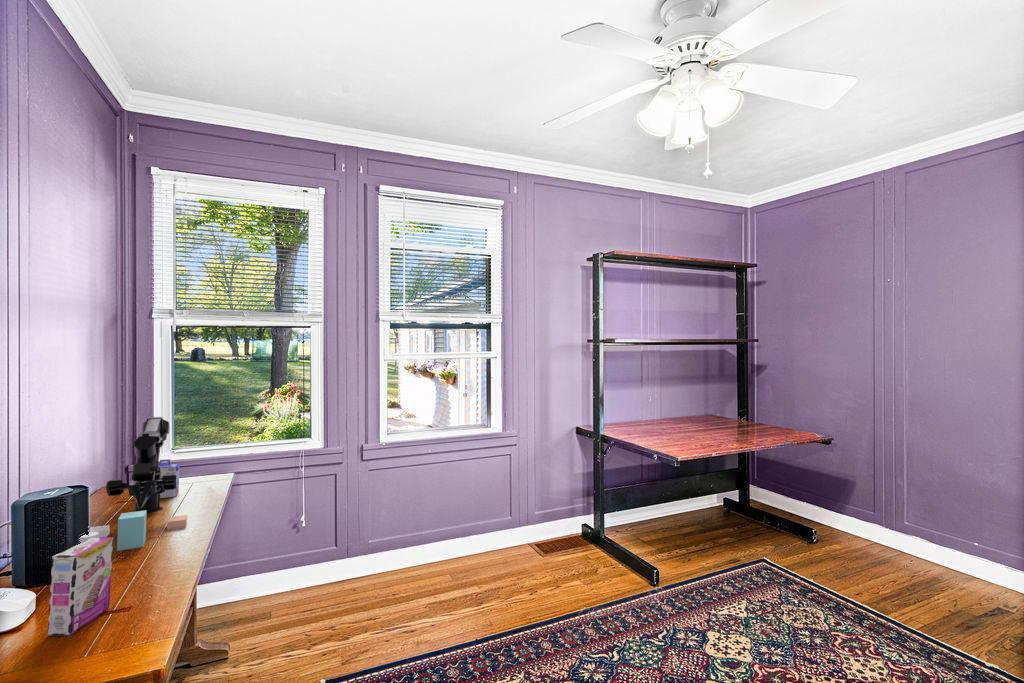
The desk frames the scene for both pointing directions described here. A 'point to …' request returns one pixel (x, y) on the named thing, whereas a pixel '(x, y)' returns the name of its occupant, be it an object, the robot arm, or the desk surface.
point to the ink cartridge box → (168, 470)
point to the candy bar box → (79, 585)
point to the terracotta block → (177, 522)
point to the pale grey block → (101, 530)
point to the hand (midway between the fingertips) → (139, 507)
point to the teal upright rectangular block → (131, 530)
